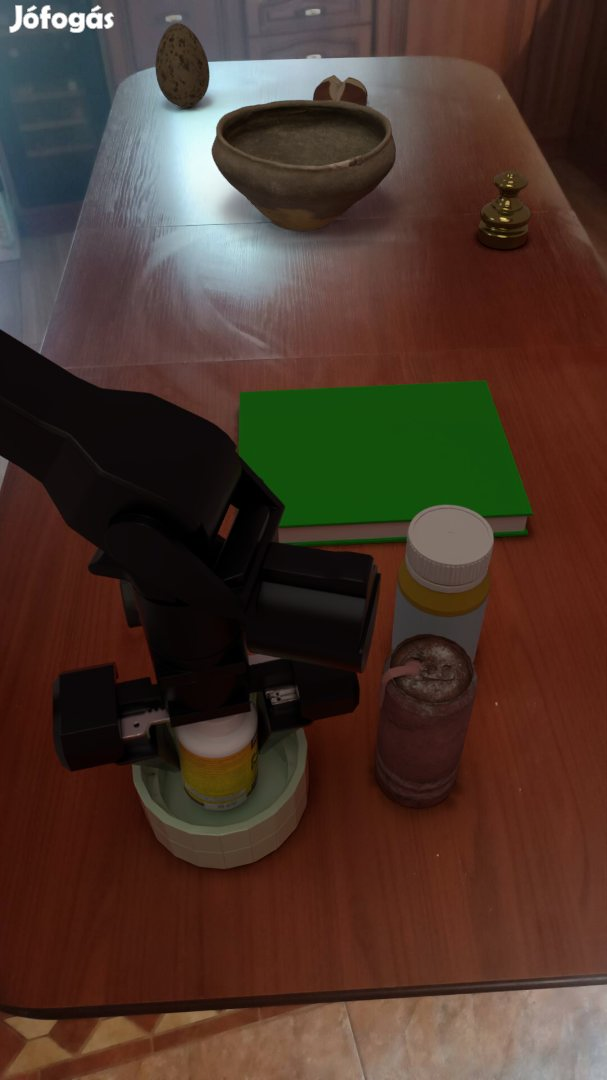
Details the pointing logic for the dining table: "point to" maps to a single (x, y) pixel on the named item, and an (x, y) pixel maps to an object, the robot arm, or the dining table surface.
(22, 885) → the dining table surface
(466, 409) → the book
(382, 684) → the can
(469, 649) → the bottle
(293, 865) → the dining table surface
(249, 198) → the bowl
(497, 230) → the brass turned ornament
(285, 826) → the ceramic bowl
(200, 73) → the decorative egg
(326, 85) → the bread
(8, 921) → the dining table surface
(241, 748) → the supplement bottle
